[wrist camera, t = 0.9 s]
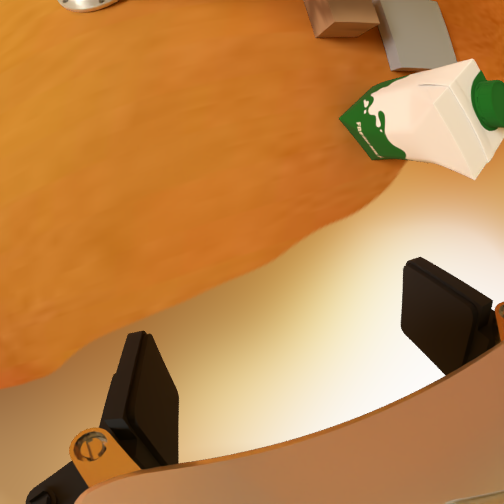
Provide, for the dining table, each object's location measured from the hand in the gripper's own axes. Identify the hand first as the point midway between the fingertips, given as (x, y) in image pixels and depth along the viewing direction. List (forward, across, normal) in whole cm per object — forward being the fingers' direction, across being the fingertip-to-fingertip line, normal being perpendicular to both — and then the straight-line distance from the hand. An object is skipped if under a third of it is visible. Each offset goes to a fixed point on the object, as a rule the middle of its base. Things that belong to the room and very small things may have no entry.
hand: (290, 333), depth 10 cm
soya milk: (+27, -20, -6) cm, 34 cm away
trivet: (+27, -31, -20) cm, 45 cm away
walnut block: (+27, -18, -21) cm, 39 cm away
